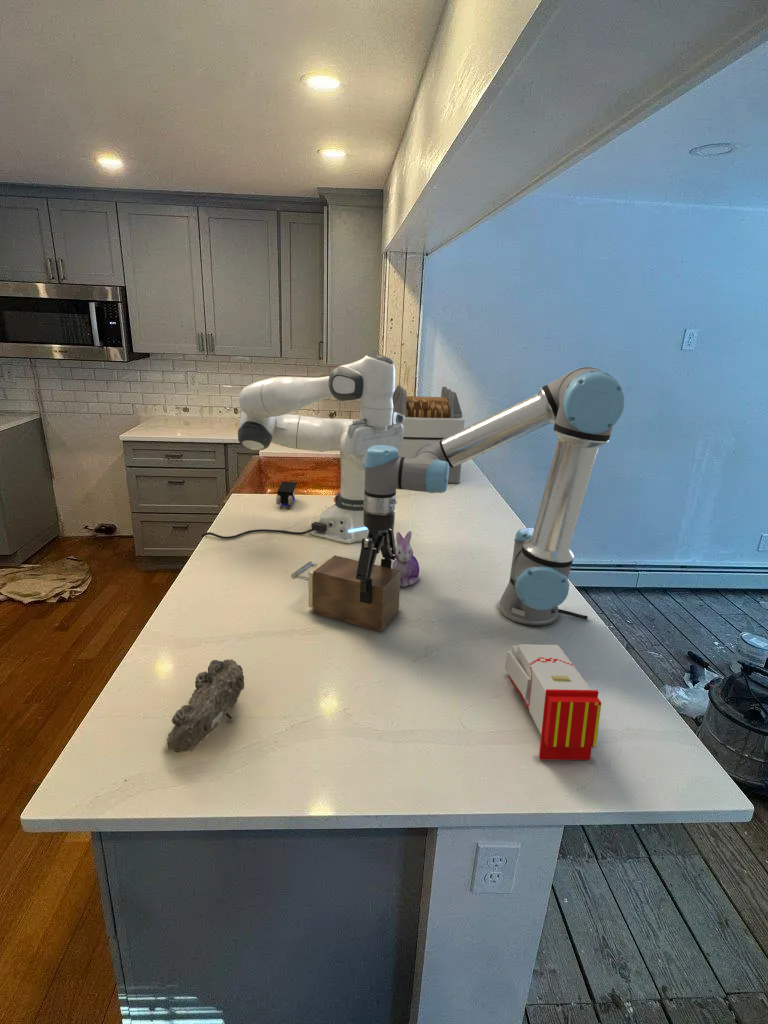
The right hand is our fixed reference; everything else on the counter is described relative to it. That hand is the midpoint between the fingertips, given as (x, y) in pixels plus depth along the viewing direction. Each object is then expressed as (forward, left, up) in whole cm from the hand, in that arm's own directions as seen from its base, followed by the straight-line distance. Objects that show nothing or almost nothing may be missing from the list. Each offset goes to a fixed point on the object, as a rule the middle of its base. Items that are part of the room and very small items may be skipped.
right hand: (375, 592), depth 143 cm
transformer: (-31, -135, -7) cm, 139 cm away
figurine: (-10, -21, -7) cm, 24 cm away
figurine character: (+29, -87, -7) cm, 92 cm away
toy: (-31, +36, -7) cm, 49 cm away
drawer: (+9, -5, -6) cm, 12 cm away
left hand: (0, -24, +26) cm, 35 cm away
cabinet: (+5, -3, -7) cm, 9 cm away
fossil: (+34, +36, -7) cm, 50 cm away
